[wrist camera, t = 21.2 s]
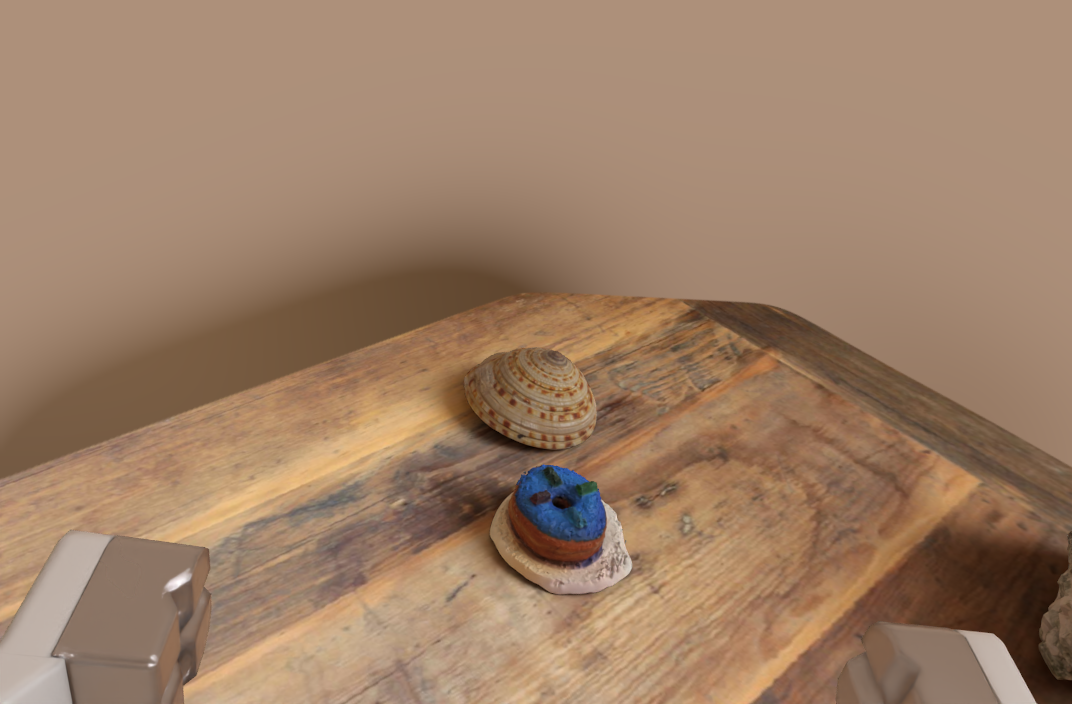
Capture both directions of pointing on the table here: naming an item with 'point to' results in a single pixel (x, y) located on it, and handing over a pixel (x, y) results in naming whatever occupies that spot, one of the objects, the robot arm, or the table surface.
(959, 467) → the table surface
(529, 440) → the seashell
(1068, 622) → the stone
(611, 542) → the dessert
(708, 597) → the table surface
